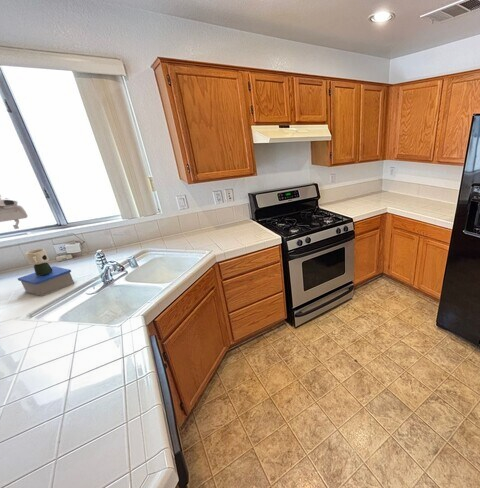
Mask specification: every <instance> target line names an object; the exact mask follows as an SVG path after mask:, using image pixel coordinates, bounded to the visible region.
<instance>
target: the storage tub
mask: <svg viewBox="0 0 480 488" xmlns="http://www.w3.org/2000/svg"><path fill="white" fill-rule="evenodd" d="M50 267H51V268H52V270H53V271H52V272H51V273H49V274H45V275H36V273H35V272H33V273H29V274H27V275H24V276H21V277H20V276H19V277H18V278H17V281H19V282H20V283H21V285H22V286H23V287H22V288H23V289H24V291H25V292H26V293H28V294H32V295H37V296H40V297H44V296H47V295H48V294H52V293H53V292H57V291H58V290H61V289H63V288H66V287H68V286H71V285H73V284H75V281H74V279H73V276H72V274H71V272H72V270H71V269H69V268H63V267H60V266H59V267H58V266H50Z"/></svg>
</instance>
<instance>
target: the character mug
mask: <svg viewBox="0 0 480 488" xmlns="http://www.w3.org/2000/svg"><path fill="white" fill-rule="evenodd" d="M24 255H25V256H26V257H25V258H26V259H27V261H28V264H29V265H31V266H33V270H34V273H36V275H45V274H49V273H51V272H52V271H53V270H52V268H51V267H52V266H51V265H50V264H49V263H48V262H49V261H50V258H49V256H48V254H47V251H46V249H45V248H37V249H33V250H32V249H31V250H28V251H26V252H25V253H24Z"/></svg>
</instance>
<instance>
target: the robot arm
mask: <svg viewBox="0 0 480 488" xmlns="http://www.w3.org/2000/svg"><path fill="white" fill-rule="evenodd" d="M28 216H29V215H28V213H27V212H26V210H25V209H24V207H23V206H22V205H21V204H19V201H18V200H17V199H15V198H8V197H6V198H5V197H2V195H1V194H0V223H2V222H9V221H10V222H11V221H14V222H15V224H13V225H12V226H13V229H14V230H17V229H19V228H20V227H19V224H20V220H24V219H27V218H28Z"/></svg>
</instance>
